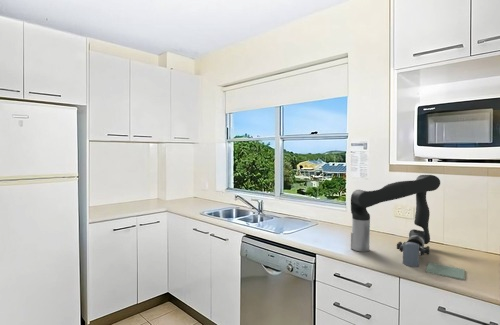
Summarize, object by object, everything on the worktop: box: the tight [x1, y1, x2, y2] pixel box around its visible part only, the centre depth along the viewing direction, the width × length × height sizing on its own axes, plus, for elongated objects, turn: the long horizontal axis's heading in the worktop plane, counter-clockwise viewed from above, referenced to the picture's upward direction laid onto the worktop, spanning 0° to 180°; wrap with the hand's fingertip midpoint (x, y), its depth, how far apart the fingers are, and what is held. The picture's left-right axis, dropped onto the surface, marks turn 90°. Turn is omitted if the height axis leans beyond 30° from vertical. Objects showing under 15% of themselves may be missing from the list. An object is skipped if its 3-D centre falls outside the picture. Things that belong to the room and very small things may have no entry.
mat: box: [425, 262, 466, 281], centre depth 132 cm, size 14×13×1 cm
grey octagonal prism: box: [402, 241, 420, 268], centre depth 141 cm, size 6×6×10 cm
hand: (411, 251), depth 141 cm, fingers open, 8 cm apart
